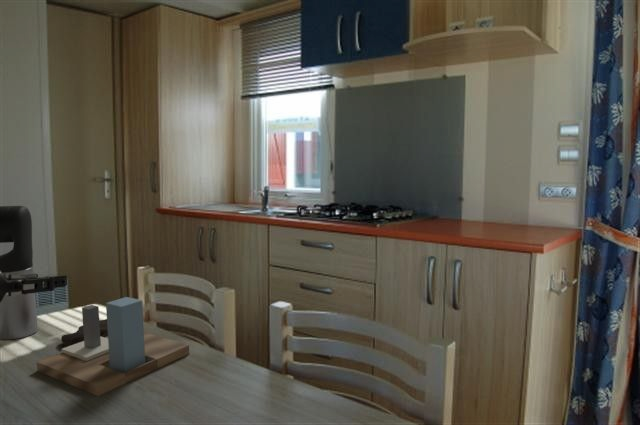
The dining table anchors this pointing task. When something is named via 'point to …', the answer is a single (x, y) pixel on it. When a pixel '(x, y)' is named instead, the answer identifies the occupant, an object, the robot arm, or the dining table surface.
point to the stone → (79, 334)
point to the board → (97, 370)
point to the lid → (89, 337)
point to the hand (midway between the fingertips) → (51, 279)
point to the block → (125, 334)
